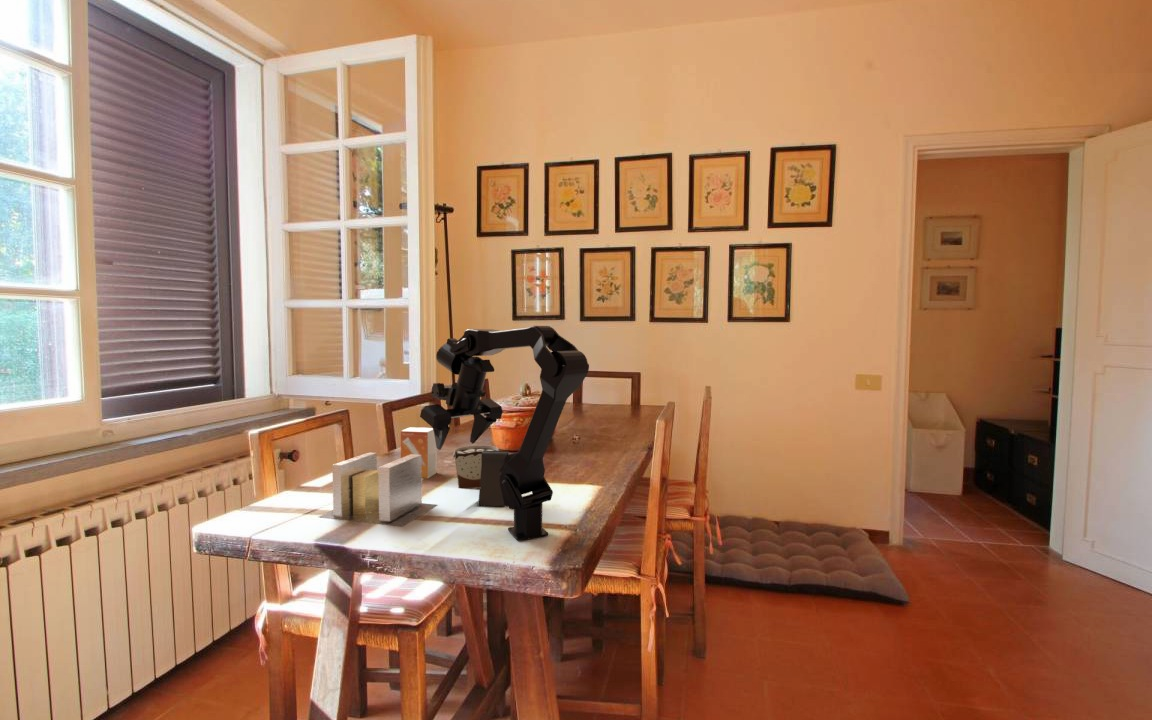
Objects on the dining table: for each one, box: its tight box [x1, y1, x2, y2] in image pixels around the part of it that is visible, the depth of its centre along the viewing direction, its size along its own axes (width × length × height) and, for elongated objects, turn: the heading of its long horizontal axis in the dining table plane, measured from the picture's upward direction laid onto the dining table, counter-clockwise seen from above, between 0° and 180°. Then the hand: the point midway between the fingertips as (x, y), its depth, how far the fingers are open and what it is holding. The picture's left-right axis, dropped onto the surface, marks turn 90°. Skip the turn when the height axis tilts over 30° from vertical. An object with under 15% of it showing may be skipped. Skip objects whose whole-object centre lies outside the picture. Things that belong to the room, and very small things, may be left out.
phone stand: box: [478, 450, 510, 508], centre depth 129 cm, size 9×6×12 cm, turn 175°
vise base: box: [318, 452, 438, 528], centre depth 117 cm, size 20×14×12 cm
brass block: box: [353, 469, 379, 515], centre depth 118 cm, size 3×6×8 cm, turn 165°
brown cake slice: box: [452, 444, 500, 490], centre depth 142 cm, size 12×6×10 cm, turn 108°
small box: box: [400, 426, 438, 479], centre depth 151 cm, size 8×6×13 cm
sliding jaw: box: [377, 454, 423, 522], centre depth 115 cm, size 2×12×11 cm, turn 165°
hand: (455, 445), depth 123 cm, fingers open, 9 cm apart
